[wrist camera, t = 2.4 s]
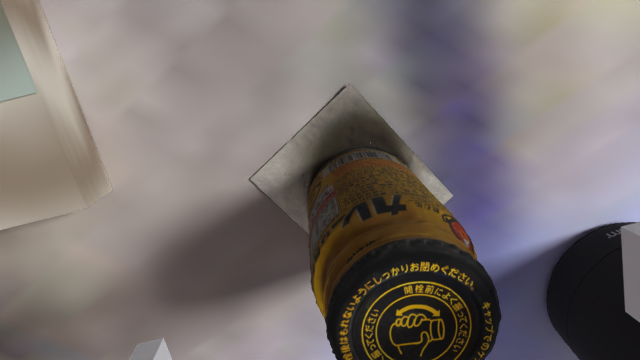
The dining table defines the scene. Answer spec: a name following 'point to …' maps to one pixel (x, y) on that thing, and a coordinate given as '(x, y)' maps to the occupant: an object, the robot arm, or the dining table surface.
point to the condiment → (381, 241)
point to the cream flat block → (41, 125)
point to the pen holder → (594, 299)
